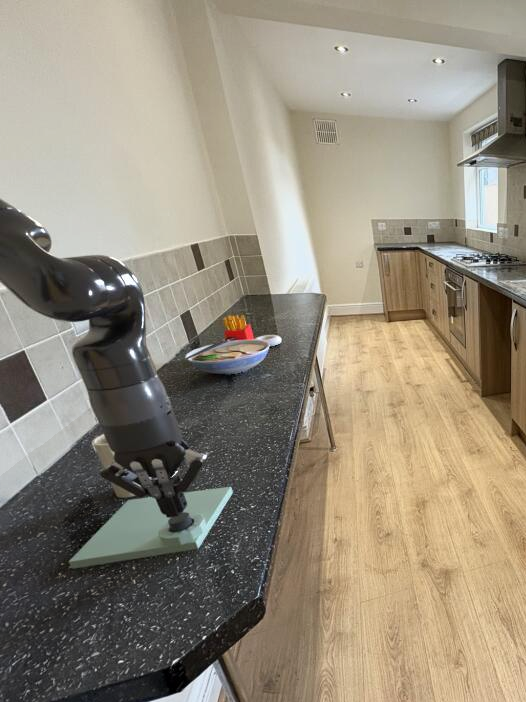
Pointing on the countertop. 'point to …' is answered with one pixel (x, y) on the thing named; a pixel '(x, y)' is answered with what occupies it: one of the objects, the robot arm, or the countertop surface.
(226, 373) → the ramen bowl
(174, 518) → the button
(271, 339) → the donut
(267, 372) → the countertop surface
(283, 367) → the countertop surface
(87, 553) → the scale
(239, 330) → the french fries container
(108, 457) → the cup
